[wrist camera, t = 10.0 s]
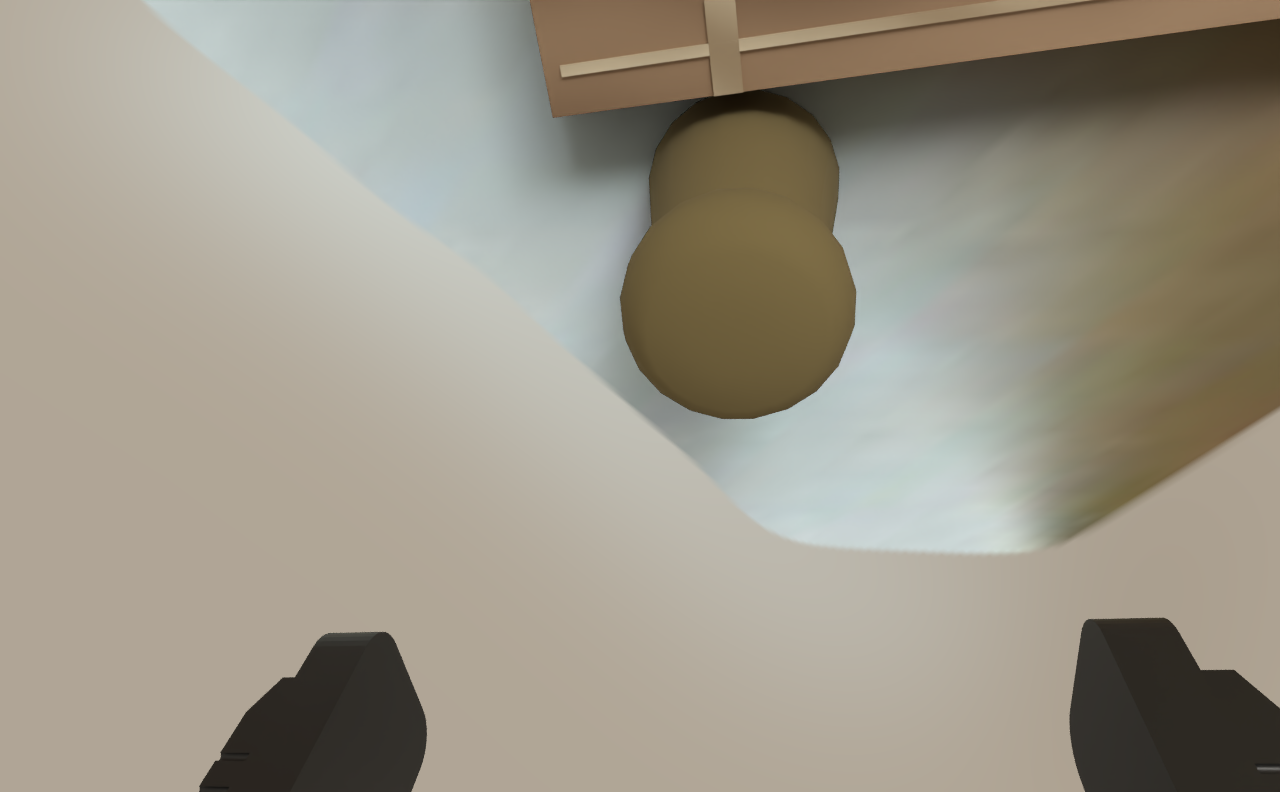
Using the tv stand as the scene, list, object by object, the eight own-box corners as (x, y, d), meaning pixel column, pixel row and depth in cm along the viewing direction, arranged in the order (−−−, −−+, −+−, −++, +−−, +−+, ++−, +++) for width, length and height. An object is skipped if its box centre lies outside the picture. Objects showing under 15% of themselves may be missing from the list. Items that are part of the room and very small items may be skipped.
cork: (610, 194, 27) (533, 345, 18) (739, 44, 25) (727, 129, 15) (745, 310, 29) (739, 507, 19) (881, 181, 26) (950, 336, 17)
